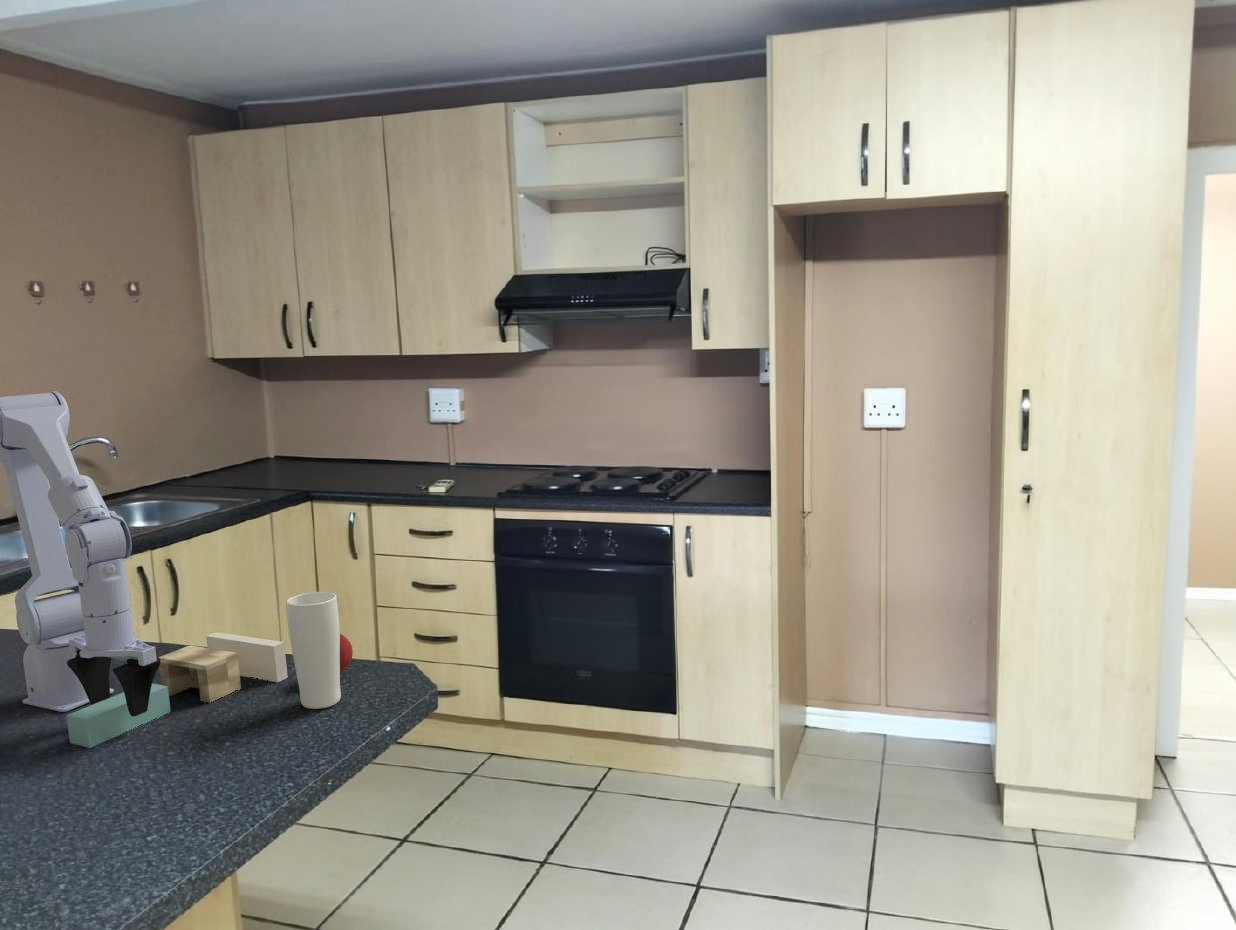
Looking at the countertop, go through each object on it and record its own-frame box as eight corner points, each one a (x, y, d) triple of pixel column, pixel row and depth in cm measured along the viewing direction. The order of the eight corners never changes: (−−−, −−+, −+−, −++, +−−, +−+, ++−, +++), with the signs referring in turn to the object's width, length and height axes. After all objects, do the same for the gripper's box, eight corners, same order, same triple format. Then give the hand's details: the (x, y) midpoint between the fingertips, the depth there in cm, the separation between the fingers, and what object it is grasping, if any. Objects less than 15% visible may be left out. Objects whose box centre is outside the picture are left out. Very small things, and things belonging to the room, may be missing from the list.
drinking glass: (308, 717, 133) (297, 608, 130) (287, 703, 138) (276, 599, 135) (355, 702, 137) (345, 597, 135) (333, 689, 142) (323, 588, 140)
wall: (210, 670, 152) (206, 636, 151) (220, 666, 154) (216, 632, 153) (277, 682, 146) (273, 646, 145) (287, 677, 148) (284, 642, 147)
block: (162, 694, 143) (157, 657, 142) (193, 680, 148) (189, 645, 147) (210, 703, 139) (206, 665, 138) (241, 689, 144) (237, 652, 143)
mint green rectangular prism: (70, 744, 128) (66, 715, 127) (151, 709, 138) (148, 682, 138) (90, 749, 126) (86, 720, 125) (170, 714, 136) (167, 686, 136)
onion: (343, 686, 143) (338, 633, 142) (306, 685, 144) (301, 632, 143) (361, 671, 149) (356, 620, 147) (325, 670, 150) (320, 619, 149)
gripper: (42, 614, 129) (56, 713, 131) (116, 625, 123) (129, 729, 125) (91, 599, 136) (104, 693, 138) (165, 609, 129) (176, 708, 131)
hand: (119, 709), depth 132 cm, fingers open, 7 cm apart
